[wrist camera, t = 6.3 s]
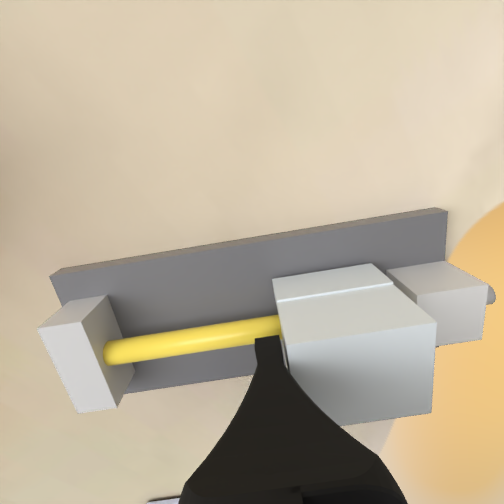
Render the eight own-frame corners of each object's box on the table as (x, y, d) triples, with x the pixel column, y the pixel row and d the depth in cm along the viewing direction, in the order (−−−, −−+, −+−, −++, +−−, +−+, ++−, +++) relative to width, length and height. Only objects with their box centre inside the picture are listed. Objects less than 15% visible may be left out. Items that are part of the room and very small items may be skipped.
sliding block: (373, 333, 16) (431, 415, 11) (282, 347, 16) (299, 433, 11) (371, 263, 14) (437, 319, 9) (272, 278, 14) (286, 342, 9)
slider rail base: (448, 333, 17) (501, 380, 14) (109, 384, 18) (75, 442, 14) (457, 203, 15) (527, 219, 11) (61, 268, 15) (5, 304, 12)
